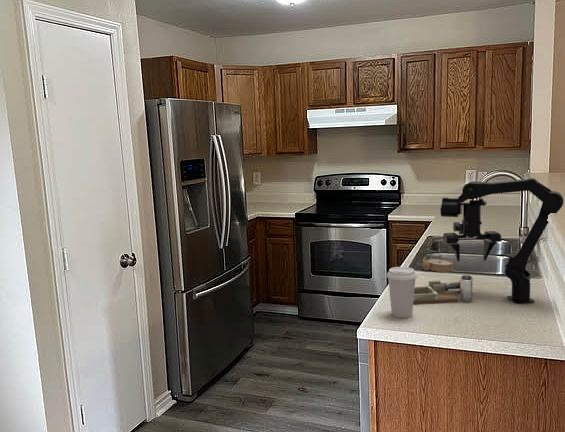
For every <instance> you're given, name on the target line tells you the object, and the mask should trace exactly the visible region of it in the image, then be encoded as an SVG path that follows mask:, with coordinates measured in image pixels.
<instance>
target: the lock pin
mask: <svg viewBox="0 0 565 432" xmlns="http://www.w3.org/2000/svg"><path fill="white" fill-rule="evenodd" d="M439 284H444V285H445V290H446V289H448V290H460V280H459V281H458V282H456V281H455V282H441V283H439Z"/></svg>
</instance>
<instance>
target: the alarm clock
mask: <svg viewBox="0 0 565 432" xmlns="http://www.w3.org/2000/svg"><path fill="white" fill-rule="evenodd" d="M416 264H417V265H418V266H420V267H422V269H423V270H424V271H427V272H428V271H429V270H430V271H432V272H433V271H434V272H440V273H448V272H451V271H453V270H454V269H455V268H454V262H453V261H452V260H449V259H446V258H440V257H439V258H438V257H429V256H424V257H423V258H422V260H421V259H420V260H417V262H416Z"/></svg>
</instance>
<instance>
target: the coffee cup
mask: <svg viewBox="0 0 565 432" xmlns="http://www.w3.org/2000/svg"><path fill="white" fill-rule="evenodd" d="M386 277H387V279H388V281H387V282H388V288H389V289H388V290H389V298H390V310H391V316H393V317H395V318H399V319H408V318H411V317H412V316H413V310H414V309H413V308H414V305H413V300H414V288H415V287H416V279H417V278H418V275H417V273H416V271H415V269H414V268H412V267H407V266H406V267H405V266H395V267H391V268H389V270H388V272H387V273H386Z"/></svg>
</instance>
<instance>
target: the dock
mask: <svg viewBox="0 0 565 432" xmlns="http://www.w3.org/2000/svg"><path fill="white" fill-rule="evenodd" d="M439 283H442V281H440V280H428V286H427V285H426V286H415V288H414V300H413V306H414V305H431V304H448V303H449V304H450V303H451V304H452V303H453V304H455V303H459V302H460V298H458V297H457V296H456V295H455V294H453V292H452V291H450V289H446V290H445V285H444V284H439Z"/></svg>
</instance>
